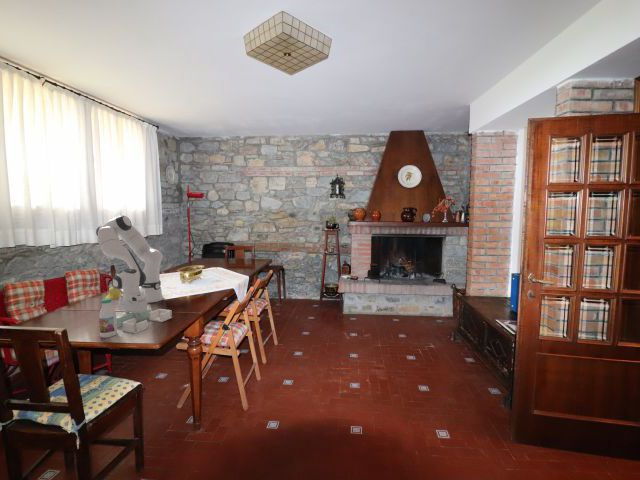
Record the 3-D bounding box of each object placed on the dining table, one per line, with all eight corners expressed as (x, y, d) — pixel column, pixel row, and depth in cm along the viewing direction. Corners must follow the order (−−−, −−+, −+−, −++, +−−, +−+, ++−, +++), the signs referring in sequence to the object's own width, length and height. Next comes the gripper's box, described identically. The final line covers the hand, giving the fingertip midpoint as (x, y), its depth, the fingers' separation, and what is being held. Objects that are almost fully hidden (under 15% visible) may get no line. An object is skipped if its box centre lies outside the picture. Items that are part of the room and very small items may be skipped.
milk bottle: (105, 332, 177) (103, 297, 175) (120, 332, 177) (117, 297, 175) (97, 338, 169) (94, 301, 167) (112, 337, 170) (109, 301, 168)
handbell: (117, 299, 241) (115, 266, 238) (101, 299, 241) (98, 266, 239) (127, 294, 253) (125, 263, 251) (112, 294, 253) (110, 263, 251)
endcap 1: (135, 333, 176) (134, 324, 175) (122, 330, 179) (121, 322, 179) (147, 327, 183) (147, 319, 183) (134, 325, 187) (134, 317, 186)
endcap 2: (159, 315, 204) (159, 308, 203) (171, 317, 200) (171, 310, 200) (149, 320, 196) (148, 312, 196) (161, 322, 193) (161, 314, 192)
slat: (116, 327, 184) (115, 318, 184) (113, 326, 186) (112, 317, 186) (152, 317, 202) (151, 309, 201) (149, 316, 204) (148, 308, 203)
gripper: (114, 295, 193) (115, 318, 194) (139, 299, 186) (141, 322, 187) (123, 293, 199) (125, 314, 200) (148, 296, 192) (150, 318, 193)
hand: (133, 318), depth 194 cm, fingers open, 5 cm apart
